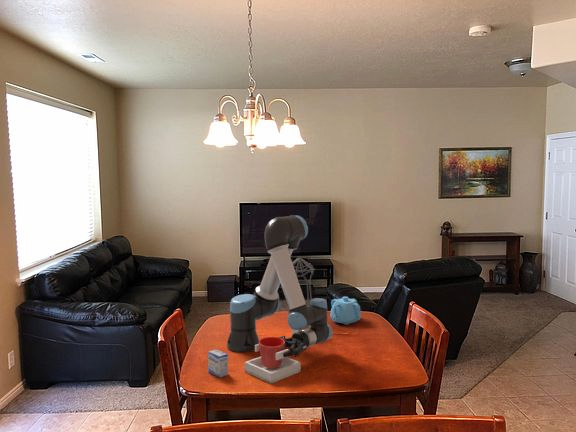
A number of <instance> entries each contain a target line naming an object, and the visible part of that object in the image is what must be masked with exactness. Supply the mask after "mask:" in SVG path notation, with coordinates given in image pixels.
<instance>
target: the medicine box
mask: <svg viewBox="0 0 576 432" xmlns="http://www.w3.org/2000/svg"><path fill="white" fill-rule="evenodd" d="M207 364H208V365H207V366H208V367H207V368H208V370H207V372H208V373H209V374H211V375H214V376H215V377H217V378H222V377H225V376H228V375H229V354H228V353H226V352H223V351H221V350H219V349H212V350H209V351H207Z"/></svg>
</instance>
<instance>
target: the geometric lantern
mask: <svg viewBox="0 0 576 432" xmlns="http://www.w3.org/2000/svg"><path fill="white" fill-rule="evenodd" d="M292 264H293V267H294V270H295V273H296V276H297V278H299V277H303V279H298V282H302V281H305V283H299V285H300V286H301V285H302V286H303V285H306V293H307V294H306V295H307V307H309V306H310V300H311V299H313V298H312V296H313V295H312V286H311V285H312V282H311V281H312V280H311V279H312V278H313V276H314V272H315V268H314V265H313V264H311V262H310V263H309V262H308V261H307V260H305V259H303V258H302V257H297V258H296V259H294V260H292ZM295 265H296V266H295ZM305 267H306V268H305ZM307 269H308V270H307ZM304 272H305V273H304ZM298 273H301V274H300V275H298ZM308 273H311V274H310V277H309V279H307V277H306V275H307V274H308ZM287 312H288V315H287V317H288V316H289V314H290V310H289V309H288V311H287Z"/></svg>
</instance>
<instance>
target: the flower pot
mask: <svg viewBox="0 0 576 432" xmlns="http://www.w3.org/2000/svg"><path fill="white" fill-rule="evenodd" d="M279 337H280V336H266V337H263V338H261V339H259V348H260V351H259V354H260V357H261V360H262V365H263V366H265V367H267V368H276V367H279V366H280V365H281V362H282V359H279V360H276V353H277V352H280V351H283V350H285V347H284V346H285V341H284V340H283V339H282V338H279Z"/></svg>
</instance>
